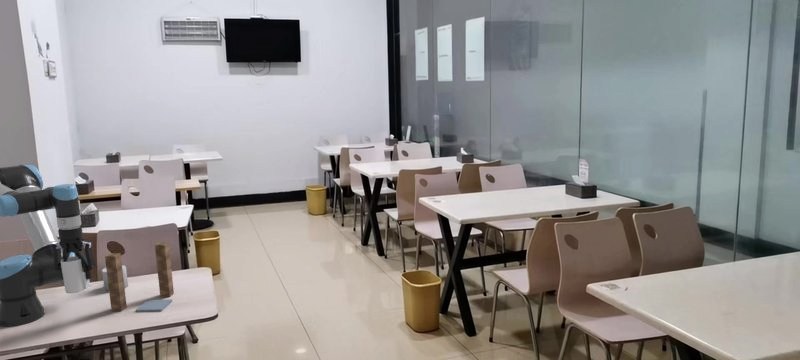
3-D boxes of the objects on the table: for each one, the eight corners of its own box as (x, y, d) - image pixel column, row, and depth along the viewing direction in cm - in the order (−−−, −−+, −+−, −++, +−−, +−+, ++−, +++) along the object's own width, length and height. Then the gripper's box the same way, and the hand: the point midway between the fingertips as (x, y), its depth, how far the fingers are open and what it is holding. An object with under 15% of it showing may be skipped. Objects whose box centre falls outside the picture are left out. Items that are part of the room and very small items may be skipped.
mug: (75, 294, 209) (71, 262, 207) (60, 293, 211) (55, 261, 209) (96, 284, 219) (92, 254, 217) (81, 283, 221) (77, 253, 218)
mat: (135, 311, 223) (135, 309, 223) (147, 301, 233) (147, 300, 233) (161, 311, 223) (161, 309, 223) (172, 301, 233) (172, 299, 233)
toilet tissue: (125, 280, 261) (123, 261, 259) (129, 288, 249) (127, 269, 248) (102, 284, 256) (100, 265, 254) (105, 293, 245) (103, 273, 243)
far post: (160, 297, 238) (154, 245, 234) (164, 293, 242) (159, 242, 238) (170, 296, 238) (164, 245, 234) (173, 293, 242) (168, 242, 238)
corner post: (111, 311, 225) (104, 256, 221) (116, 307, 229) (110, 253, 225) (121, 311, 225) (115, 256, 221) (126, 307, 228) (120, 253, 225)
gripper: (36, 230, 207) (45, 291, 211) (90, 229, 207) (98, 291, 211) (49, 225, 215) (57, 284, 219) (101, 224, 214) (108, 283, 218)
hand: (77, 287), depth 215 cm, fingers closed on mug, 6 cm apart
